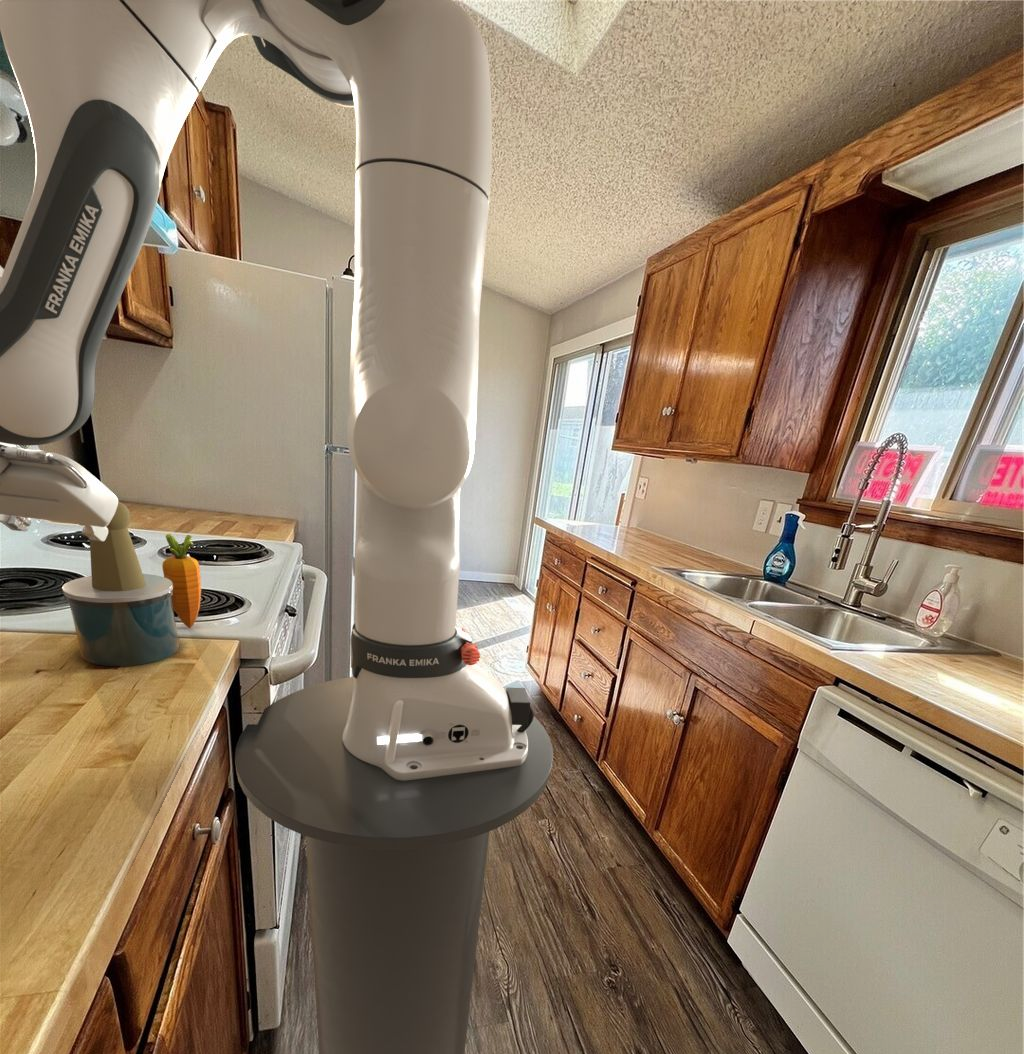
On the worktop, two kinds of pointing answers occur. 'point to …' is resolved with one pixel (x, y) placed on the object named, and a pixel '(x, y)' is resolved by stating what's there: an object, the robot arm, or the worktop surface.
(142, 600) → the pot
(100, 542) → the tan pepper shaker
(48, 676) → the worktop surface
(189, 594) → the carrot
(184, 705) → the worktop surface
